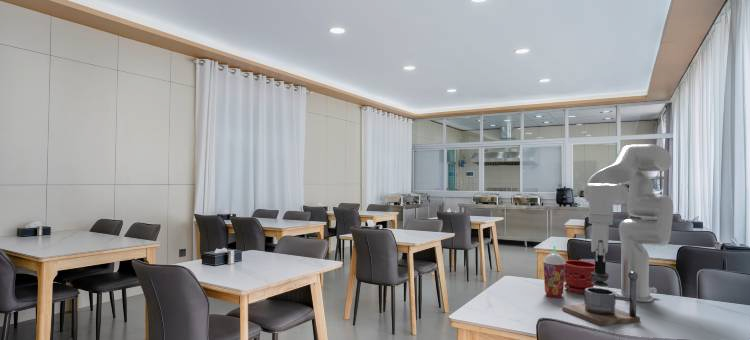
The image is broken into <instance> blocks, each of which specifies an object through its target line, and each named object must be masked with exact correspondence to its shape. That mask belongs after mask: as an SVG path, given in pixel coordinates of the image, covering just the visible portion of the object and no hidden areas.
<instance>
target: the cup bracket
mask: <svg viewBox="0 0 750 340" xmlns="http://www.w3.org/2000/svg"><path fill="white" fill-rule="evenodd" d="M628 277H629V279H630V297H626V296H618V295H617V292H615V291H614V290H610V289H608V288H602V287H594V288H586V289H585V294H584V303H582V304H581V303H579V304H569V305H568V304H567V305H561V306H562V308H561V311H563V312H566V313H568V314H570V315H573V316H574V317H575V316H576V317H578V318H579V319H582V320H585V321H588V322H590V323H591V324H594V325H597V326H599V327H602V326H605V327H606V326H611V325H612V326H613V325H620V324H621V325H622V324H630V323H638V322H641V316H638V315H637V301H636V287H637V279H638V274H637V273H636V272H634V271H631V272H629V273H628ZM616 300H617V301H625V302H629V306H628V307H629V308H628V310H629V311H628V312H627V311H625V310H623V309H622V310H621V309H618V308H616Z"/></svg>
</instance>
